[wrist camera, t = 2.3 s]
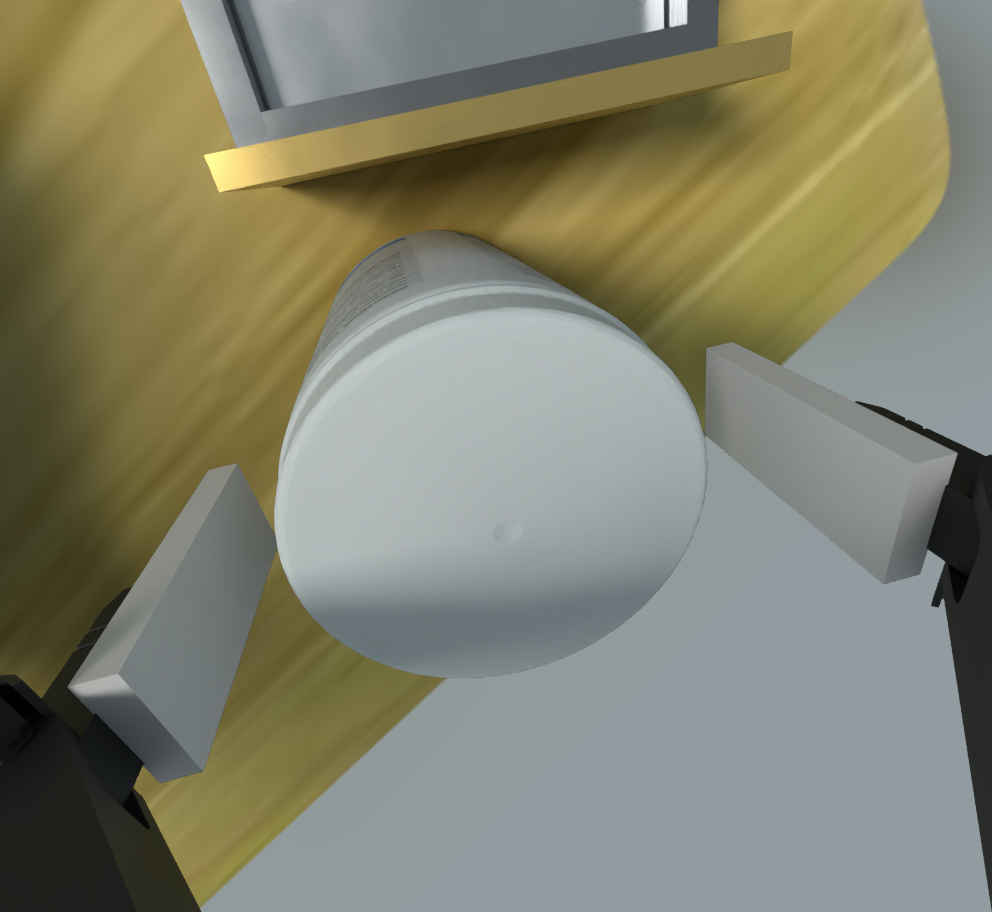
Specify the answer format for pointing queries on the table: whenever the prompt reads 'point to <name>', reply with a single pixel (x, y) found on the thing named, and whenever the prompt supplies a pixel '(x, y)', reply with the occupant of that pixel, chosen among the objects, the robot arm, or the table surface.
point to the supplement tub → (481, 465)
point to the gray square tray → (444, 74)
